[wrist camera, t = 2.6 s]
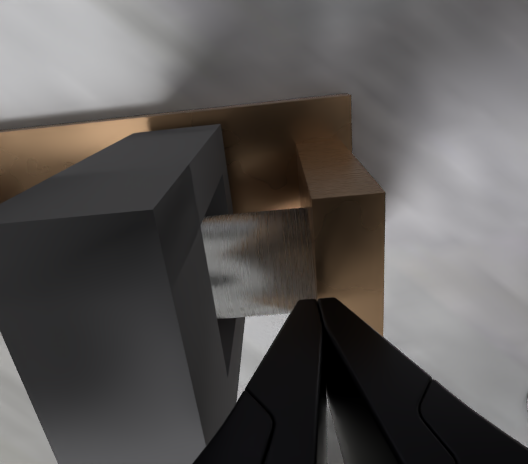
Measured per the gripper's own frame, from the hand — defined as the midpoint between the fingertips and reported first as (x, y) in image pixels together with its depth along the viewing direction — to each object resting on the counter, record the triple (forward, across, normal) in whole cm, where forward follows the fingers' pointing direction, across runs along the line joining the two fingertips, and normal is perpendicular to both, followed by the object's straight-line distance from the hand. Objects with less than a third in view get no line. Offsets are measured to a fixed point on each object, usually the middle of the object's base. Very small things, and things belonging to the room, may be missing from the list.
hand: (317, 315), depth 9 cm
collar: (+6, +4, 0) cm, 7 cm away
